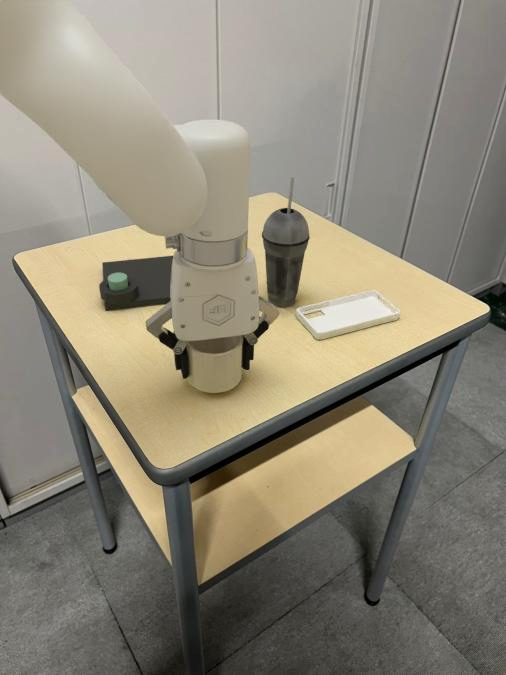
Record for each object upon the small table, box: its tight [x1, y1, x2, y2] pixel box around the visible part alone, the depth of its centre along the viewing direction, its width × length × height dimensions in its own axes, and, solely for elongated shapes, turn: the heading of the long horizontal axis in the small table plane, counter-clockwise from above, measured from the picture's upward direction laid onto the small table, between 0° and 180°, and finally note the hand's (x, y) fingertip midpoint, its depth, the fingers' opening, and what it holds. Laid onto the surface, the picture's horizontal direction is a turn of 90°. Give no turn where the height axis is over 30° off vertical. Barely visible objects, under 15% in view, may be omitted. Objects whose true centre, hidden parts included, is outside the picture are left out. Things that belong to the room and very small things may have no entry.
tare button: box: [108, 273, 128, 291], centre depth 81 cm, size 3×3×2 cm
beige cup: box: [186, 335, 244, 394], centre depth 66 cm, size 7×7×6 cm
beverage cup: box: [261, 176, 311, 309], centre depth 79 cm, size 7×7×20 cm
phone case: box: [295, 289, 402, 341], centre depth 81 cm, size 7×1×15 cm
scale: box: [98, 255, 174, 312], centre depth 87 cm, size 16×14×3 cm
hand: (214, 367), depth 67 cm, fingers closed on beige cup, 7 cm apart
